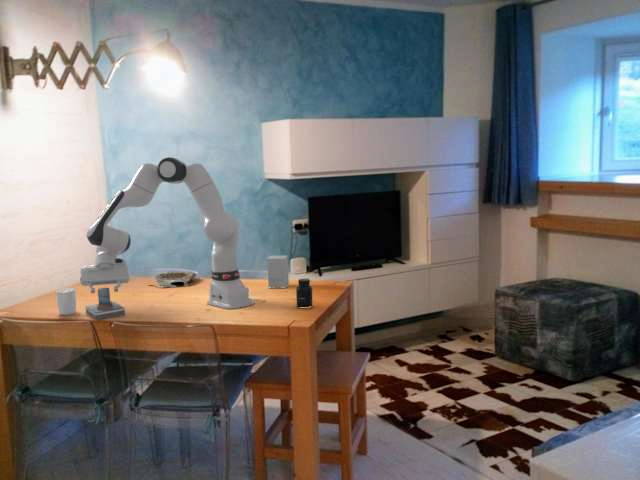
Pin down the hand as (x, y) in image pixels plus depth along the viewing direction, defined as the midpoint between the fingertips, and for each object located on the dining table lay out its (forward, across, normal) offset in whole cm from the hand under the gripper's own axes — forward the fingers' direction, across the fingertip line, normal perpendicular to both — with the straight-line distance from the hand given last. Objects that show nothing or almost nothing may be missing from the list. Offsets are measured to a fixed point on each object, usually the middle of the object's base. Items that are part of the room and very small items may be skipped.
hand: (104, 291), depth 253 cm
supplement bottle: (+20, +83, -7) cm, 86 cm away
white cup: (+4, -16, +9) cm, 19 cm away
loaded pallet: (+6, 0, +2) cm, 7 cm away
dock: (+8, 0, +4) cm, 9 cm away
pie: (-30, +28, +44) cm, 60 cm away
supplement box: (-11, +78, +23) cm, 82 cm away
